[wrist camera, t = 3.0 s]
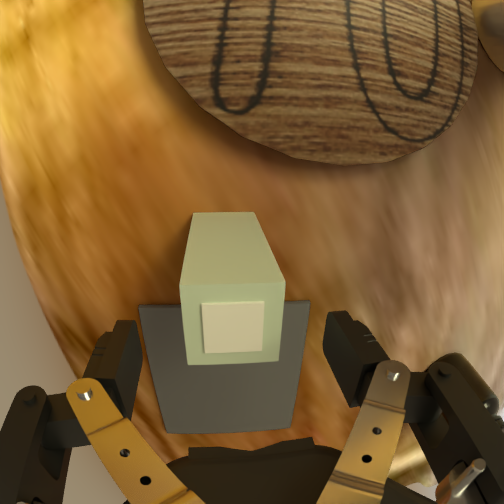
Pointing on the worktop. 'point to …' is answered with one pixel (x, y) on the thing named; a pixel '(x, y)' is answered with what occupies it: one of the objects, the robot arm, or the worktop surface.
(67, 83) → the worktop surface
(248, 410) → the mat
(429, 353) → the worktop surface
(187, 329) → the block
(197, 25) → the trivet
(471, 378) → the supplement bottle
